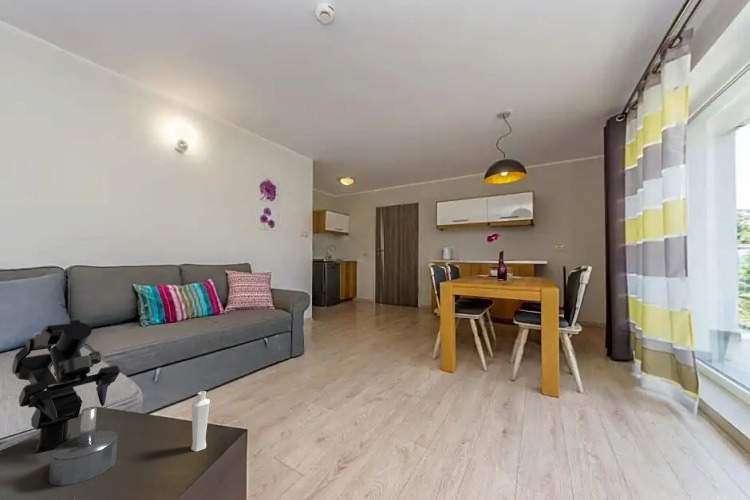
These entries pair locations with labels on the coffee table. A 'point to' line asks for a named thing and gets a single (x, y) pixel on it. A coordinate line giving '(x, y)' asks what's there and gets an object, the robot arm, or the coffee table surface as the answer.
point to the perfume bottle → (200, 421)
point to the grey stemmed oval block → (83, 453)
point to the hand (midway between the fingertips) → (80, 412)
